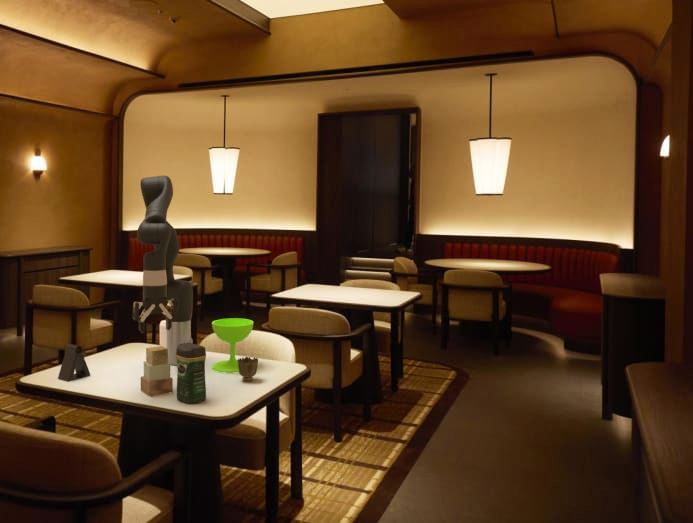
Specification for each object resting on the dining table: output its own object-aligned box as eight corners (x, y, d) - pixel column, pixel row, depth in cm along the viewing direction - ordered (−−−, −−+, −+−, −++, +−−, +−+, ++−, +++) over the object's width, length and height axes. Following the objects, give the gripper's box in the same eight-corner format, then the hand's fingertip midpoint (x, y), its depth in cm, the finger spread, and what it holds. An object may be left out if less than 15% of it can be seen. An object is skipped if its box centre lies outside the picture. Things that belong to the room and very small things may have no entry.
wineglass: (206, 364, 235) (206, 320, 233) (244, 360, 243) (244, 317, 241) (219, 375, 221) (219, 327, 219) (259, 370, 229) (259, 324, 227)
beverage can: (161, 351, 255) (161, 323, 254) (158, 346, 262) (158, 320, 261) (180, 349, 259) (180, 322, 258) (176, 345, 266) (176, 319, 265)
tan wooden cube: (161, 360, 204) (161, 345, 203) (167, 363, 199) (167, 349, 199) (146, 362, 200) (146, 348, 200) (152, 366, 196) (152, 351, 196)
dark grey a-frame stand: (67, 381, 209) (67, 348, 208) (57, 378, 212) (57, 346, 211) (90, 375, 217) (90, 343, 216) (80, 373, 220) (79, 341, 219)
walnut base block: (163, 386, 206) (163, 372, 206) (172, 392, 200) (172, 378, 200) (140, 390, 201) (140, 376, 201) (149, 397, 195) (149, 382, 195)
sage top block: (164, 373, 205) (164, 359, 205) (170, 378, 200) (170, 363, 199) (143, 375, 202) (143, 361, 201) (149, 381, 196) (149, 366, 195)
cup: (261, 379, 217) (262, 357, 216) (252, 384, 210) (252, 362, 210) (243, 376, 220) (243, 355, 219) (233, 382, 213) (233, 360, 212)
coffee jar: (210, 400, 193) (210, 344, 191) (189, 406, 187) (189, 348, 185) (193, 393, 199) (192, 339, 197) (172, 399, 193) (172, 343, 191)
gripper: (171, 280, 204) (172, 326, 205) (129, 283, 195) (130, 331, 197) (179, 283, 198) (180, 330, 199) (136, 286, 189) (137, 335, 191)
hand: (155, 331), depth 198 cm, fingers open, 8 cm apart
